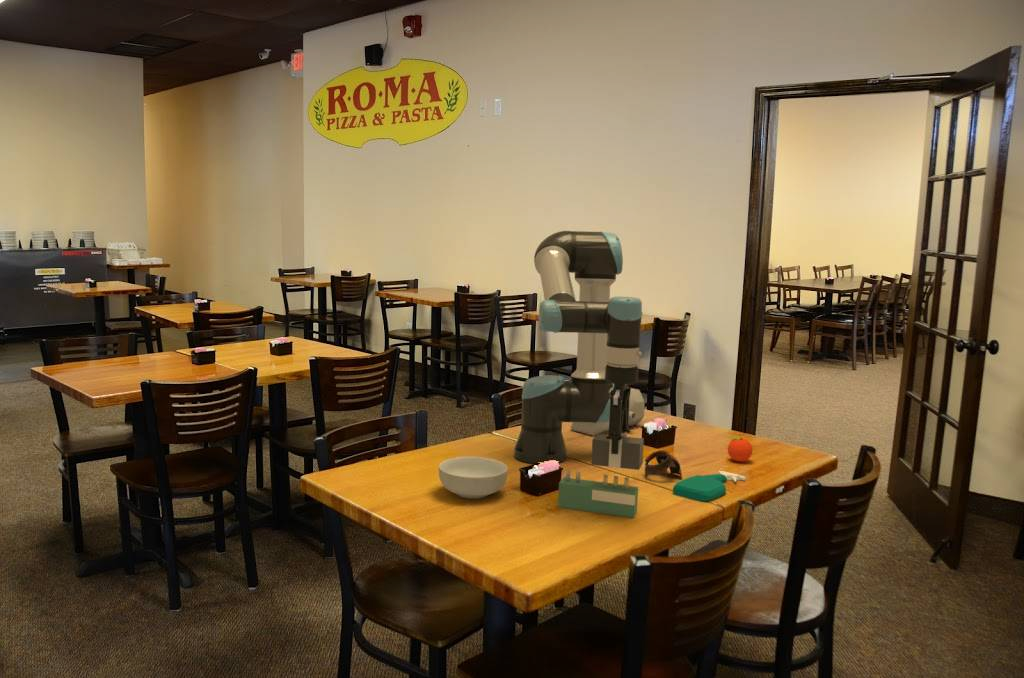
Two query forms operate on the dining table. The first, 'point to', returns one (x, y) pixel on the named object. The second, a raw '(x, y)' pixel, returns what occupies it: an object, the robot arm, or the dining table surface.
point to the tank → (599, 428)
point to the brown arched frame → (662, 464)
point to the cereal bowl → (472, 476)
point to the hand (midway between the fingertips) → (617, 463)
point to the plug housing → (629, 454)
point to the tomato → (739, 449)
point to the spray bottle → (705, 486)
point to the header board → (598, 496)
